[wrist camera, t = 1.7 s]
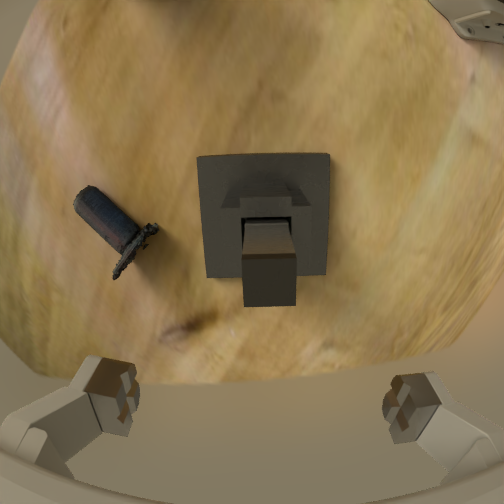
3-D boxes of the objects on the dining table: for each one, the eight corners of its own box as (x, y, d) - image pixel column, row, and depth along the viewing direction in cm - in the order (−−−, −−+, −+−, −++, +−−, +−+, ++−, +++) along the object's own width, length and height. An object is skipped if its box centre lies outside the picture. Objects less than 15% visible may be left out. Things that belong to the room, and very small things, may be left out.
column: (282, 202, 39) (299, 256, 23) (282, 235, 41) (297, 307, 25) (247, 202, 39) (239, 257, 23) (248, 236, 41) (242, 308, 25)
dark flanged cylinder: (165, 224, 44) (104, 173, 42) (152, 232, 37) (81, 172, 35) (130, 272, 45) (72, 222, 43) (112, 288, 38) (47, 229, 36)
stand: (326, 152, 39) (347, 161, 29) (322, 268, 45) (338, 305, 35) (199, 156, 39) (181, 165, 30) (208, 271, 45) (196, 309, 36)
